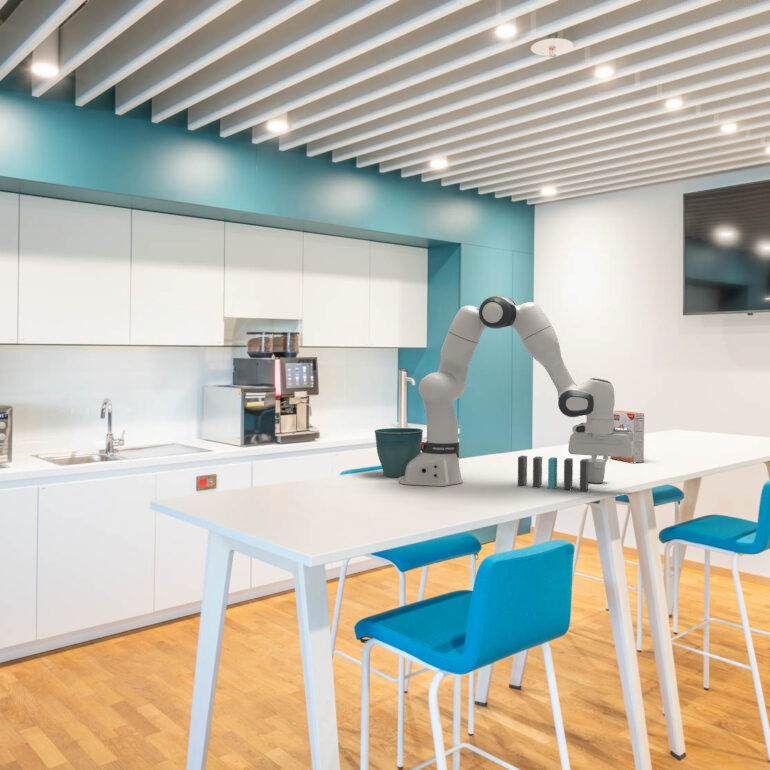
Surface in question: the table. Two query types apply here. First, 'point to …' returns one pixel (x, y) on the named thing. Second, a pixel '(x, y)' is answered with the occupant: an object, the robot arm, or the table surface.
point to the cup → (595, 471)
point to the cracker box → (635, 425)
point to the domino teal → (552, 472)
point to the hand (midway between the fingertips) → (599, 469)
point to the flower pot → (397, 449)
